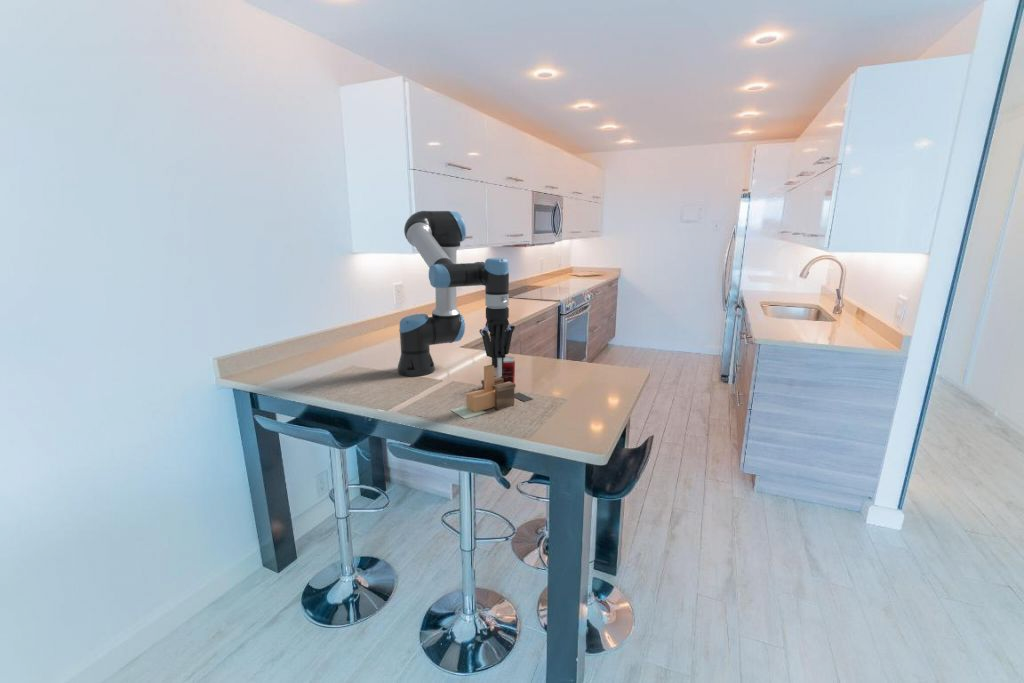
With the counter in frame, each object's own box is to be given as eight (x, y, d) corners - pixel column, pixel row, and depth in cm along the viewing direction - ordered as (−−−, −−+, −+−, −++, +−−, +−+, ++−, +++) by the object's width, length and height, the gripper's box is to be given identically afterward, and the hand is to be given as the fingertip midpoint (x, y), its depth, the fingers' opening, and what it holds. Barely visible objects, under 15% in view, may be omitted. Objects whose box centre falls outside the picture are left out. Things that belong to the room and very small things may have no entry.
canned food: (503, 381, 181) (502, 354, 179) (519, 386, 176) (519, 358, 174) (489, 386, 176) (489, 358, 173) (506, 391, 171) (505, 362, 168)
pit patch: (510, 395, 167) (510, 394, 167) (519, 392, 169) (519, 392, 169) (524, 401, 160) (524, 401, 160) (533, 399, 163) (533, 398, 163)
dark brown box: (481, 401, 161) (481, 380, 159) (498, 397, 165) (498, 376, 163) (498, 410, 153) (498, 388, 151) (515, 405, 157) (515, 383, 155)
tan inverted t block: (466, 407, 154) (465, 368, 151) (503, 397, 163) (503, 360, 160) (474, 412, 150) (473, 372, 147) (511, 402, 159) (511, 363, 156)
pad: (450, 410, 153) (450, 409, 153) (471, 404, 158) (471, 404, 158) (465, 419, 146) (465, 418, 146) (486, 413, 151) (486, 412, 151)
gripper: (487, 310, 144) (488, 382, 150) (520, 306, 152) (519, 375, 157) (473, 307, 150) (475, 376, 156) (506, 303, 158) (506, 369, 163)
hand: (497, 375), depth 157 cm, fingers closed
